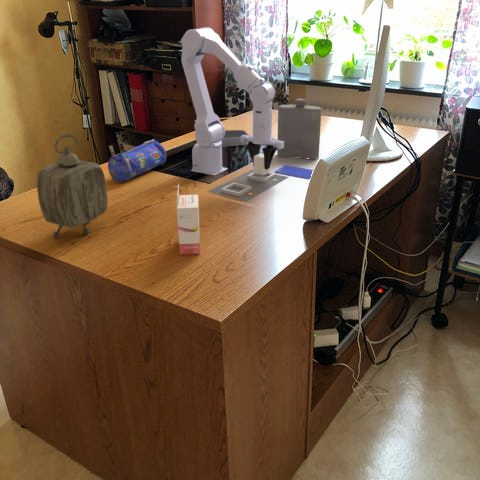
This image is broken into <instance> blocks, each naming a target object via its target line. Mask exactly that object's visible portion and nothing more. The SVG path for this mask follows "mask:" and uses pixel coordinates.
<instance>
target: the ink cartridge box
mask: <svg viewBox="0 0 480 480" xmlns="http://www.w3.org/2000/svg"><path fill="white" fill-rule="evenodd" d="M179 187H180V183H178V184H177V192H176V219H177V234H178V246H179V247H178V249H179V255H181V256H183V255H200V254H201V253H200V208H199V207H200V206H199V205H200V203H199V202H200V201H199V194H181V195H180V194H179V190H180V188H179Z"/></svg>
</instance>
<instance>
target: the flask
mask: <svg viewBox="0 0 480 480" xmlns="http://www.w3.org/2000/svg"><path fill="white" fill-rule="evenodd" d="M306 102H307V101H306V99H304V98H296V99H295V100H294V104H280V105H278V107H277V140H280V141H284V148H282V149H277V150H276V152H277V153H276V155H277V156H278V157H279V158H291V157H301V158H300V159H303V158H309V159H315V160H317V159H316V158H318V159H319V157H320V140H321V123H322V107H320V106H316V105H306ZM309 159H308V160H309Z"/></svg>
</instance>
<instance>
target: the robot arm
mask: <svg viewBox="0 0 480 480" xmlns="http://www.w3.org/2000/svg"><path fill="white" fill-rule="evenodd" d="M180 44H181V46H182V48H181V64H182V68H183V71H184V75H185V78H186V82H187V86H188V89H189V93H190V96H191V100H192V104H193V107H194V110H195V114H196V120H195V123H194V130H195V133H194V138H195V142H196V143H195V144H194V145H193V147H192V150H191V151H192V152H191V157H192V158H191V160H192V169H191V172H193V173H200V174H201V173H202V174H205V175H210V176H215V175H218V174H220V173H222V172H225V171H226V170H228V168H227V167H223V148H222V139H223V137H224V136H225V131H226V129H225V126H224V125H223V123H222V122H221V119H220V116H218V115H217V114H216V113H215V111H214V108H213V105H212V101H211V97H210V94H209V93H210V92H209V90H208V87H207V82H206V79H205V74H204V71H203V67H202V64H201V61H202V60H203V59H204V57H205V54H209V55H214V56H215V57H216V58H217V59H218V60H219V61H220V62H222V63H223V65H225V66H226V67H227V68H228V69H229V70H230V71H232V72H233V79H234V80H235V82H237V83H238V84H239V85H240V86H241V87H242V88H243V89H244V91H245V92H247V94H249V100H250V102H251V103H252V134H248V135H242V136H241V142H248V145H247V146H245V147H246V150H247V151H248V153H249V156H250V159H251V162H252V166H253V168H254V156H255V155H258V154H260V151H261V147H262V146H265V147H262V152H263V153H262V154H264V167H265V169H266V170H267V169H269V168H271V164H272V161H273V158H274V156H275V154H276V152H277V149H282V148H284V141H280V140H278V138H273V137H272V132H273V131H272V129H273V128H272V126H273V125H272V124H273V121H272V119H273V99H274V98H275V96H276V88H275V86H274V85H273V84H272V82H270V81H265V80H266V79H265V78H263V77H261V76H260V75H259V74H258V73H257V72H256V71H255V70H254V67H253V65H252V64H250V65H249V64H248V63H242V62H241V61H240V60H239V59H238V57H236V56H235V54H234V53H233V52H232V51H231V50H230V49H229V48H228V47H227V45H226V44H225V43H224V42H223V40H222V39H221V37H220V35H219V34H218V33H216V32H215V31H214V29H213V28H211V27H209V26H204V27H200V28H193V29H188V30H187V31H185V33H184V34H183V36H182V38H181V39H180Z"/></svg>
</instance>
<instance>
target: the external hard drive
mask: <svg viewBox="0 0 480 480" xmlns="http://www.w3.org/2000/svg"><path fill="white" fill-rule="evenodd" d="M242 135H249V134H248V133H247V132H246V130H242V129H241V130H239V129H238V130H237V129H234V130H233V129H231V130H227V129H225V136H224V137H223V139H222V147H228V146H236V145H244V144H248V142H241V136H242Z"/></svg>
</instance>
